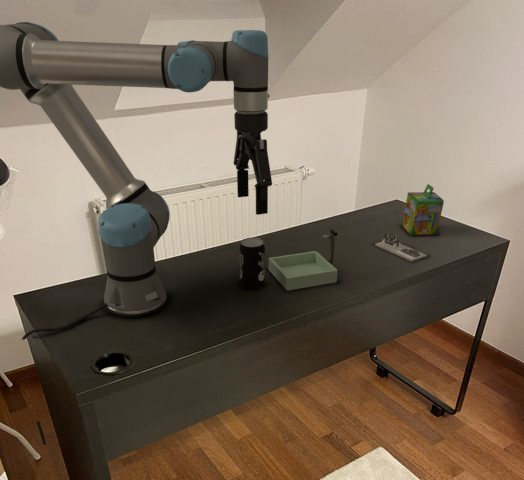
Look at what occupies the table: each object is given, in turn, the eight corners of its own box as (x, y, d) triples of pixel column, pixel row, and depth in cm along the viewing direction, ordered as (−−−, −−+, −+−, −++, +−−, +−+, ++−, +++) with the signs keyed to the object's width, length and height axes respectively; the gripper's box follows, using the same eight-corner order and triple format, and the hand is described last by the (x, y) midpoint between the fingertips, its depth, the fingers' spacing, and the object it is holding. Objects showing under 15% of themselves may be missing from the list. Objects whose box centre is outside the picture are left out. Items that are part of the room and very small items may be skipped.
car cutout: (374, 245, 164) (376, 231, 161) (389, 240, 167) (391, 226, 164) (411, 261, 153) (414, 247, 151) (426, 256, 157) (429, 242, 154)
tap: (322, 274, 146) (325, 234, 139) (318, 270, 148) (321, 230, 141) (334, 272, 147) (338, 232, 140) (330, 268, 149) (333, 229, 142)
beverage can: (254, 291, 137) (254, 248, 130) (235, 284, 140) (234, 242, 134) (269, 282, 141) (270, 240, 135) (250, 276, 145) (250, 234, 138)
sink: (286, 290, 138) (287, 278, 136) (268, 269, 148) (268, 257, 146) (336, 282, 142) (337, 270, 140) (315, 262, 152) (316, 250, 150)
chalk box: (401, 226, 177) (408, 181, 169) (427, 225, 178) (435, 181, 170) (410, 236, 170) (418, 190, 161) (437, 235, 170) (447, 189, 162)
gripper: (288, 120, 108) (285, 219, 120) (248, 101, 128) (249, 188, 140) (254, 122, 106) (255, 223, 118) (218, 103, 126) (222, 191, 137)
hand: (252, 204), depth 129 cm, fingers open, 13 cm apart
